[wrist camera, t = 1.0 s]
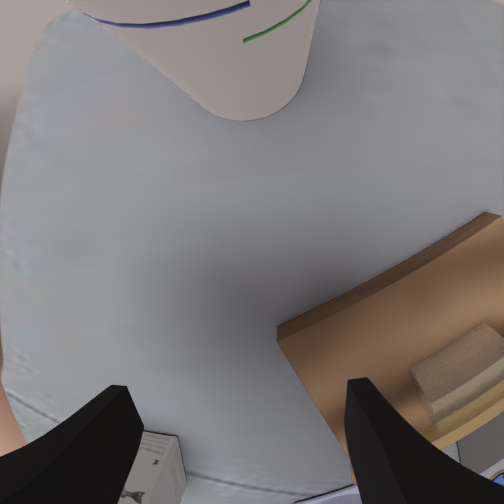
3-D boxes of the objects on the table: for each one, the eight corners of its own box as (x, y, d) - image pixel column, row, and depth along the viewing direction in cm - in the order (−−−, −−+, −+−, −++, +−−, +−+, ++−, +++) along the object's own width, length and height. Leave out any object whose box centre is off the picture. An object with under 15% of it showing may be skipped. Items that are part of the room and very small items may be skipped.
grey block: (490, 362, 17) (516, 391, 14) (422, 404, 18) (440, 441, 15) (483, 321, 17) (515, 348, 13) (409, 366, 18) (430, 403, 14)
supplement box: (179, 434, 23) (130, 557, 11) (188, 482, 25) (155, 585, 13) (102, 417, 24) (34, 516, 12) (119, 466, 25) (72, 555, 13)
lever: (356, 476, 15) (358, 491, 14) (344, 459, 15) (347, 474, 14) (541, 368, 13) (551, 377, 11) (541, 343, 12) (552, 352, 11)
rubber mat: (531, 433, 21) (533, 436, 20) (462, 479, 23) (463, 483, 22) (535, 379, 20) (539, 382, 19) (455, 436, 21) (457, 440, 21)
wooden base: (513, 376, 20) (548, 413, 14) (359, 463, 23) (370, 516, 17) (485, 212, 17) (543, 226, 11) (277, 326, 20) (275, 382, 14)
